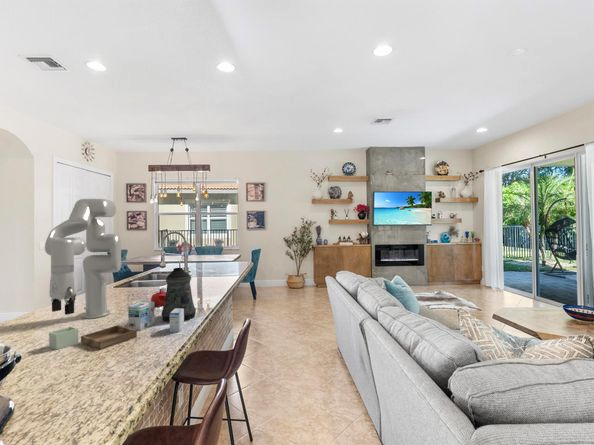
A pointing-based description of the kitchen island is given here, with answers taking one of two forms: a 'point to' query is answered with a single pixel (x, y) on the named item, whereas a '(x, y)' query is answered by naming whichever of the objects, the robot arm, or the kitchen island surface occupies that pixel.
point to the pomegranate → (158, 298)
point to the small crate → (63, 338)
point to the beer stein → (178, 295)
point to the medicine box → (176, 320)
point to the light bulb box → (141, 315)
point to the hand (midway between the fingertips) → (63, 312)
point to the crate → (108, 337)
